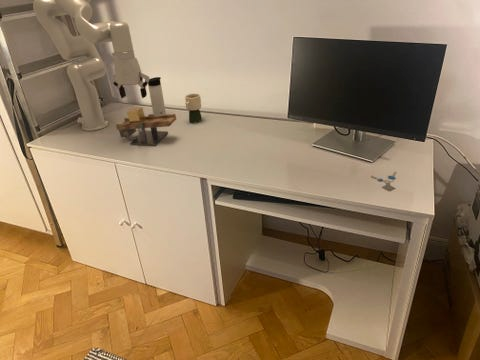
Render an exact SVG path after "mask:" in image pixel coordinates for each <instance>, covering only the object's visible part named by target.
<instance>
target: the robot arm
mask: <svg viewBox="0 0 480 360" xmlns="http://www.w3.org/2000/svg"><path fill="white" fill-rule="evenodd" d="M90 3H91V0H33V5H32V9H33V12H34V15H35V17H36V19H37V21H38V22H39V23H40V25H41V26H42V27H43V28H44V30H45V31H46V32H47V34H48V35H49V36H50V39H51V40H52V42H53V44H54V46H55V47H56V50H57V51H58V53H59V55H60V57H61V58H63V60H65V61H73V60H74V61H73V62H71V63H70V64H69V65H68V66H67V68H66V73H67V76H68V78H69V80H70V82H71V85H72V86H73V89H74V93H75V96H76V100H77V103H78V106H79V107H78V108H79V111H80V114H81V117H78V118H77V123H79V124H82V125H81V129H82V130H83V131H85V132H92V131H98V130H99V131H100V130H102V129H104V128H107V127H108V125H109V121H108V120H106V119H105V118H104V113H103V111H102V106H101V102H100V98H99V95H98V92H97V91H98V90H97V89H96V87H95V86H94V85H93V84H92V83H91V81H93V80H97V79H99V78H102V77H104V76H105V75H106V72H107V70H106V66H105V63H104V61H103V59H102V57H101V56H100V55H101V54H99V51H98V50H97V47H96V45H100V44H105V43H112V48H113V52H112V54H111V55H112V57H114V60H113V63H114V65H113V68H114V75H113V76H112V77H110V81H111V82H112V83H113V85H114V87H116V88H117V90H118V91H119V96H120V98H121V99H124V98H125V97H126V96H127V94H126V89H125V87H124V86H136V85H138V86H139V87H140V89H139V90H140V96H141V98H142V99H144V98H146V97H147V92H148V91H147V88H146V87H147V86H148V81H149V79H151V78H150V76H149V75H147V74H145V73H144V72H143V73H142V70H141V66H140V63H139V61H138V59H137V57H136V56H135V52H134V51H135V50H134V47H133V42H132V37H131V32H130V26H129V24H128V23H127V22H124V21H114V20H109V21H103V22H95V23H91V22H89V21H90V20H91V18H92V17H93V8H92V5H91V4H90ZM66 15H69V16H70V17H72V18H73V19H74V25H75V27H76V30H77V32H78V33H79V35H75V36H74V35H72V33H71V32H70V30H69V28H68V26H67V25H66V24H65V23H64V22H62V21H61V20H60V19H59V18H56V17H59V16H66ZM82 58H84V59H82ZM78 59H80V60H78ZM75 60H76V61H75ZM143 79H144V80H143Z"/></svg>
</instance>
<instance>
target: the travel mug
mask: <svg viewBox="0 0 480 360" xmlns="http://www.w3.org/2000/svg"><path fill="white" fill-rule="evenodd" d="M147 86H148V92H149V98H150V102H151V108H152V114H154V116H156V115H167V113H166V107H165V100H164V94H163V89H162V83H161V76H155V77H151V78H149V81H148V84H147Z"/></svg>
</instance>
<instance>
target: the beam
mask: <svg viewBox="0 0 480 360" xmlns="http://www.w3.org/2000/svg"><path fill="white" fill-rule="evenodd" d="M145 119H146V121H144V122H138V123H144V127H145V129H151V128H153V127H157V128H163V127H165V128H167V127H170V126H171V125H172V124H173V123H174V122H175V121H177V116H176V113H173V114H166V115H156V116H146V115H145ZM123 120H124V121H123V122H122V123H117V124H115V127H116V130H117V131H118V132H119V135H120V139H123V138H125V139H126V138H130V137H132V136H133V134H135V133H136V132H137V129H138V125H137V124H138V123H130V121H129V118H128V117H125V118H124V119H123Z"/></svg>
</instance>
